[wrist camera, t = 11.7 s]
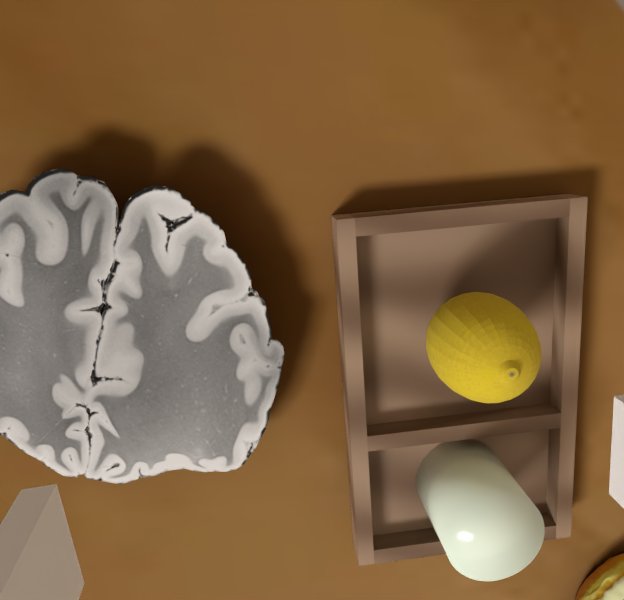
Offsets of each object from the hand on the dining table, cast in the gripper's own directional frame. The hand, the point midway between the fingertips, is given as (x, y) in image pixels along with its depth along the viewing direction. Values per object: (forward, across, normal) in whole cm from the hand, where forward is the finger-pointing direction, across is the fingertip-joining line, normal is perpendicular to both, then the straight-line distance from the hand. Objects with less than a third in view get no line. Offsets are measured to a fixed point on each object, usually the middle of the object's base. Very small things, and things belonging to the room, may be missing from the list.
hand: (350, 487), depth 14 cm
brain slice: (+22, -10, -2) cm, 24 cm away
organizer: (+21, +10, -8) cm, 24 cm away
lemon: (+20, +10, -4) cm, 23 cm away
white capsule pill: (+20, +9, -15) cm, 27 cm away
